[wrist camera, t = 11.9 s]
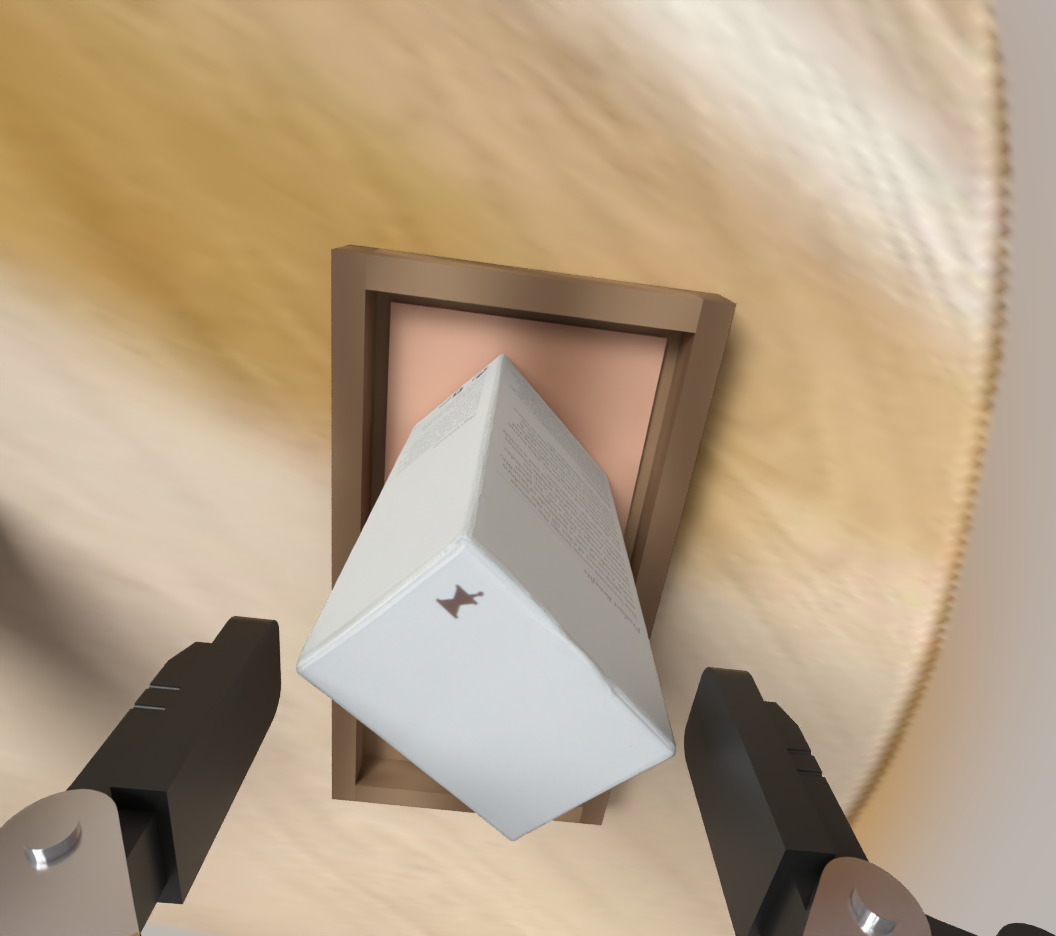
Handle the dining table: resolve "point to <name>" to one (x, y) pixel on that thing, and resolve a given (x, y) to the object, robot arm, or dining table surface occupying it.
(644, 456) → the two-section desk tray
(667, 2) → the dining table surface
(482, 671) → the skincare box
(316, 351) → the dining table surface
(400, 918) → the dining table surface
